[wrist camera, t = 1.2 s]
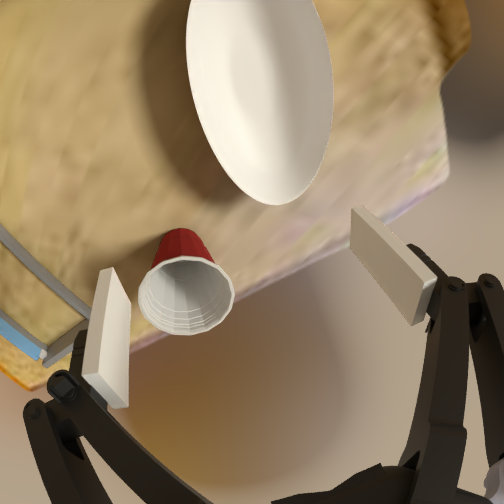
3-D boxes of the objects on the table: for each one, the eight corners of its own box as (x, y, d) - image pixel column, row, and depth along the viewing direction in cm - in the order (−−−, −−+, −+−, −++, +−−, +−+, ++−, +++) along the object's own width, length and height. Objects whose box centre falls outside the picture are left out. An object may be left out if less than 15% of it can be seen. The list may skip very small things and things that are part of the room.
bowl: (320, 173, 43) (340, 190, 38) (214, 198, 41) (221, 220, 36) (292, -39, 25) (311, -52, 20) (165, -25, 24) (165, -41, 19)
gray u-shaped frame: (-71, 243, 31) (-82, 256, 28) (-37, 179, 29) (-51, 191, 26) (49, 352, 49) (46, 369, 46) (100, 316, 47) (97, 333, 44)
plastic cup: (219, 206, 42) (236, 256, 32) (219, 271, 48) (234, 330, 38) (137, 212, 40) (129, 266, 30) (147, 278, 45) (146, 339, 36)
